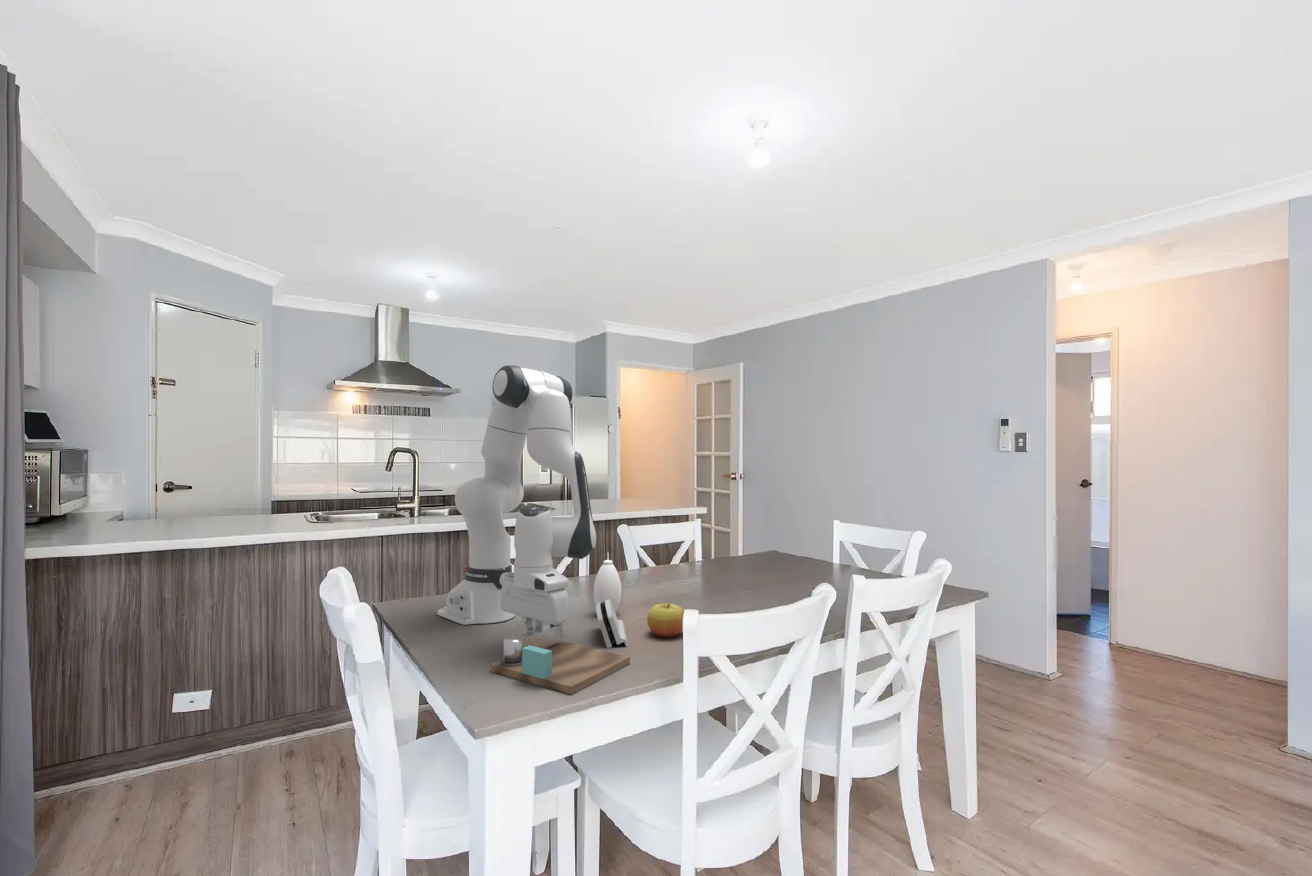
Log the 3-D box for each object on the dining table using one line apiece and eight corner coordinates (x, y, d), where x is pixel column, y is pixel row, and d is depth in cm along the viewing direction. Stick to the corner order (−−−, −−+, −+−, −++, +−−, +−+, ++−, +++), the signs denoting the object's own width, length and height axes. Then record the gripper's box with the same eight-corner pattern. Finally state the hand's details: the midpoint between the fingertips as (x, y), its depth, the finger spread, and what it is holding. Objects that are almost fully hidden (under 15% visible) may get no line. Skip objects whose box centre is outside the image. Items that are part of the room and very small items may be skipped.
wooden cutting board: (490, 671, 128) (490, 662, 128) (553, 645, 145) (553, 637, 145) (571, 694, 116) (571, 685, 116) (629, 663, 133) (629, 655, 134)
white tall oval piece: (588, 613, 173) (589, 550, 173) (611, 609, 177) (612, 548, 178) (602, 620, 166) (603, 554, 167) (626, 616, 171) (627, 552, 171)
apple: (683, 641, 149) (684, 609, 149) (644, 639, 150) (644, 607, 151) (686, 629, 159) (686, 599, 159) (649, 627, 160) (650, 597, 160)
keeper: (521, 672, 123) (522, 648, 123) (529, 669, 125) (529, 645, 125) (544, 679, 120) (544, 653, 120) (551, 675, 122) (552, 650, 122)
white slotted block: (628, 647, 144) (614, 608, 144) (609, 654, 144) (595, 615, 144) (624, 626, 161) (612, 591, 161) (607, 633, 160) (595, 597, 160)
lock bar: (513, 663, 127) (513, 636, 127) (499, 659, 129) (499, 633, 129) (565, 641, 141) (566, 617, 141) (552, 638, 143) (553, 614, 143)
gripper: (494, 572, 144) (493, 631, 144) (552, 585, 131) (551, 649, 131) (515, 568, 149) (514, 625, 149) (573, 580, 136) (573, 642, 136)
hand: (532, 636), depth 140 cm, fingers closed
